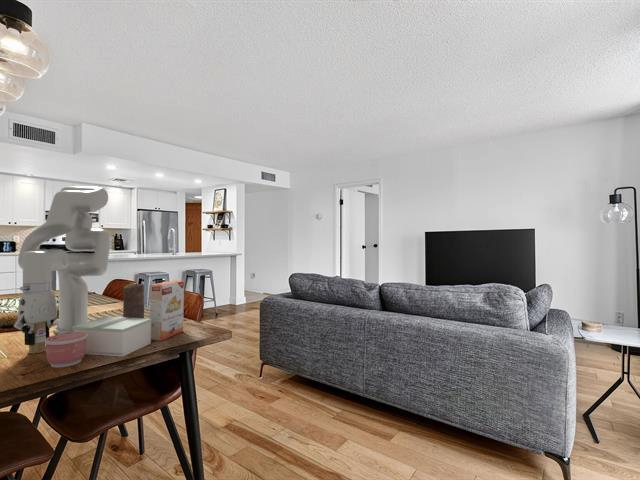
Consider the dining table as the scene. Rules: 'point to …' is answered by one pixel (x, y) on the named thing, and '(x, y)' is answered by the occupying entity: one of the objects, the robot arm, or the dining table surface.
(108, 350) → the box
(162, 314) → the cracker box
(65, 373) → the dining table surface
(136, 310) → the candle
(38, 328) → the sprinkles bottle
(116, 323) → the lid
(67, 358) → the container
